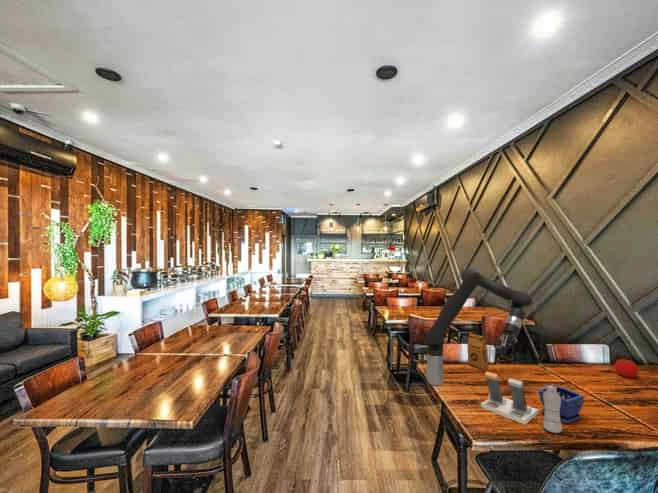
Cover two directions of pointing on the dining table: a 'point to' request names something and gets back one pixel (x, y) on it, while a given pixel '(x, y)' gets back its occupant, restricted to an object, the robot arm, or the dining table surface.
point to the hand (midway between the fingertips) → (502, 353)
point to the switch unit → (509, 410)
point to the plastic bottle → (552, 409)
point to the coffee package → (477, 351)
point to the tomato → (626, 368)
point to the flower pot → (566, 404)
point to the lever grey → (518, 394)
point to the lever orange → (494, 386)
